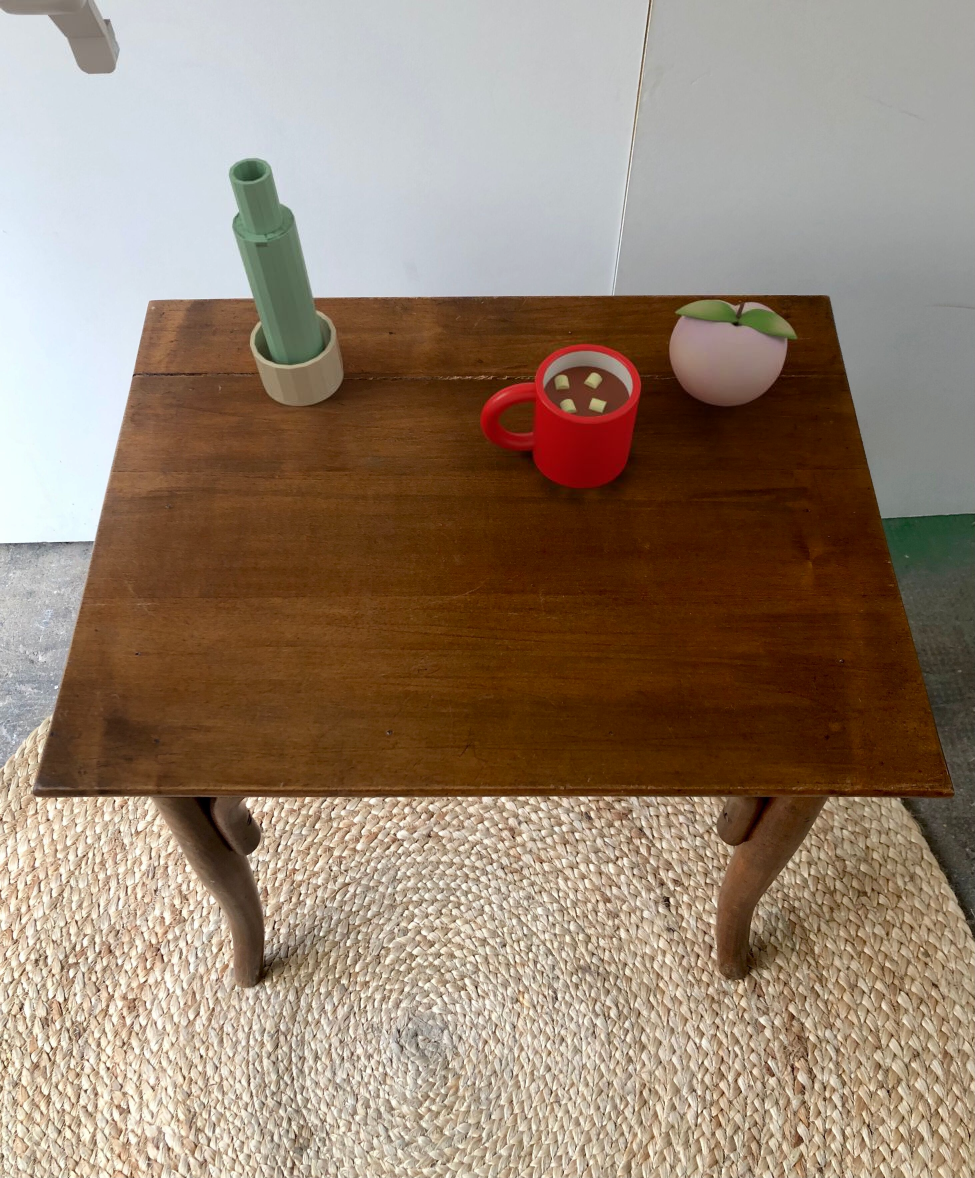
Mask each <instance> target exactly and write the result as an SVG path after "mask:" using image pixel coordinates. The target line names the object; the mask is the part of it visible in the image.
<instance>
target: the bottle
mask: <svg viewBox="0 0 975 1178" xmlns="http://www.w3.org/2000/svg"><path fill="white" fill-rule="evenodd" d="M228 178H229V182H230V184H231V189H232V191H233V195H234V198H235V203H236V205H237V209H238V211H237V213H236V214H235V216H234V217H233V219H232V224H231V229H232V232H233V236H234V238H235V242H236V245H237V248H238V251H239V255H240V258H241V261H242V265H243V268H244V271H245V272H244V273H245V274H246V278H247V281H248V285H249V288H250V292H251V294H252V298H253V301H254V305H255V308H256V312H257V315H258V318H259V322H260V321H261V324H262V328H263V331H264V334H265V338H266V341H267V344H268V348H269V351H270V354H271V357H272V361H273V363H275V364H281V365H295V364H301V363H305V362H307V361H310V360H312V359H314V358H316V357H317V356H319V355H320V354H321V353H322V352H323V351H324V350H325V347H324V343H323V339H322V334H321V330H320V326H319V321H318V317H317V313H316V310H317V308H316V304H315V300H314V296H313V292H312V287H311V282H310V279H309V278H310V277H309V274H308V270H307V264H306V261H305V256H304V253H303V248H302V244H301V239H300V235H299V230H298V226H297V222H296V218H295V217H296V216H295V215H294V213H293V211H292V209H291V208H289V207H288V206H286V205H285V204H283V203H281V202H280V199H279V194H278V191H277V187H276V183H275V178H274V174H273V170H272V166H271V165H270V164H269V163H268V161H266V160H264V159H261V158H258V157H253V158H252V157H251V158H249V157H247V158H244V159H241V160H239V161H236V162H234V163H233V165H232V166H231V167H230V168H229V171H228Z"/></svg>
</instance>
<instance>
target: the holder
mask: <svg viewBox="0 0 975 1178" xmlns="http://www.w3.org/2000/svg"><path fill="white" fill-rule="evenodd" d="M316 313H317V317H318V321H319V326H320V330H321V334H322V339H323V343H324V347H325V350H324V351H323V352H322V353H321V354H320V355H319V356H317V357H316V358H314V359H312V360H310V361H307V362H305V363H301V364H295V365H281V364H275V363H273V361H272V357H271V354H270V351H269V348H268V344H267V341H266V338H265V334H264V331H263V328H262V324H261V321H260V320H259V321H258V322H257V323H256V324H255V326H254V328H253V329H252V332H251V333H250V339H249V346H250V347H249V348H250V349H251V353H252V356H253V359H254V363H255V365H256V368H257V371H258V374H259V377H260V380H261V382H262V386H263V388H264V390H265V392H266V393H267V395H268V396H269V397H270V398H271V399H273V400H274V401H275V402H278V403H280V404H283V405H284V406H285V405H287V406H291V407H307V406H312V405H315V404H318V403H321V402H323V401H325V400H327V399H328V398H330V397H331V396H332V395H334V394H335V393H336V391H337V390H338V389H339V388H340V386H341V384H342V382H343V379H344V374H345V373H344V372H345V371H344V362H343V358H342V353H341V348H340V344H339V339H338V334H337V329H336V327H335V325H334V322H333V320H332V319H331V318H329V317H328V316H327V315H326V314H325V313H323V312H322V311H319V310H317V309H316Z"/></svg>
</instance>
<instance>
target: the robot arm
mask: <svg viewBox="0 0 975 1178" xmlns="http://www.w3.org/2000/svg"><path fill="white" fill-rule="evenodd" d="M0 9H1V10H2V11H3V12H5V13H6V14H9V15H13V16H15V15H16V16H48V18H49V19H50V20H51V21H52V22H53V24H54V25H55V27H56V28H58V30H59V31H60V32H61V33H62V35H64V37H65V38H66V39H67V41H68V44H69V47H70V49H71V53H72V55H73V58H74V59H75V60H74V61H75V62H76V65H77V67H78V68H79V69H80V71H81V72H83V73H86V74H88V75H97V74H98V75H101V74H104V75H105V74H112V73H114V71H115V70H116V67H117V62H118V59H119V54H120V51H121V49H120V46H119V42H118V41H117V39H116V34H115V31H114V28H113V27H114V26H113V24H112V21H111V19H110V18H103V16H102V14H101V11H100V9H99V8H98V5H97V4H96V2H95V0H0Z"/></svg>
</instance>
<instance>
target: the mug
mask: <svg viewBox="0 0 975 1178" xmlns="http://www.w3.org/2000/svg"><path fill="white" fill-rule="evenodd" d="M641 390H642V382H641V376H640V374H639V372H638V370H637V368H636V366H635V365H634V363H633V362H631V361H630V360H629V359H628V357H626V356H624V354H621V353H620V352H618V351H616V350H614V349H612V348H610V347H606V346H603V345H597V344H589V343H588V344H587V343H586V344H584V343H583V344H581V343H579V344H575V345H569V346H567V347H566V346H565V347H563V348H559V349H558V350H556V351H554V352H552V353H551V354H550V355H548V356H547V357H546V358H545V359H543V361H542V362H541V363H540V365H539V367H538V368H537V370H536V373H535V377H534V382H521V383H518V384H517V383H516V384H512V385H510V386H507V387H505V388H502V389H501V390H499V391H497V392H495V394H493V395H492V396H491V397H489V399H488V400H487V401H486V402H485V403H484V406H483V407H482V409H481V413H480V417H479V418H480V419H479V423H480V428H481V431H482V432H483V434H484V436H485V438H486V439H487V440H488V441H489V442H490V443H492V444H493V445H495V446H497V447H499V448H502V449H505V450H508V451H514V452H530V451H531V455H532V459H533V462H534V464H535V465H536V467H537V469H538V470H539V471H540V472H541V474H543V475H544V476H545V478H548V479H549V480H550V481H552V482H553V483H556V484H558V485H560V486H563V487H566V488H572V489H592V488H597V487H598V488H599V487H601V486H604V485H606V484H608V483H610V482H612V481H614V480H615V479H616V478H617V477H618V476H619V475H621V473H622V471H623V470H624V469H625V467H626V466H627V463H628V461H629V454H630V450H631V444H632V439H633V433H634V428H635V424H636V419H637V414H638V408H639V407H638V406H639V402H640V396H641ZM522 403H523V404H524V403H533V409H532V410H533V413H532V414H533V415H532V431H529V432H514V431H509V430H508V429H506V428H504V427H502V425H501V424H500V417H501V416H502V414H503V413H504V412H505V411H506V410H507V409H509V408H510V407H513V406H515V405H518V404H522Z"/></svg>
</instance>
